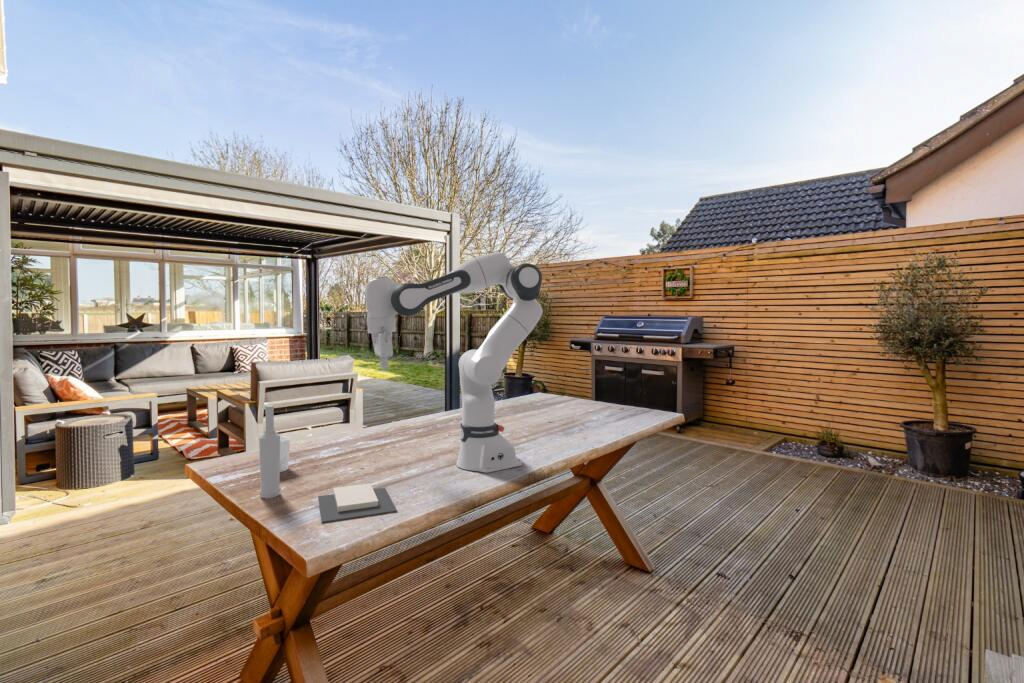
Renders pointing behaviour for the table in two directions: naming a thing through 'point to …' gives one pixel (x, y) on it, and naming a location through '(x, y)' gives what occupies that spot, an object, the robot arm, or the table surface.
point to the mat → (332, 514)
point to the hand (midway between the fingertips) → (384, 369)
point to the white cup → (284, 452)
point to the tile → (355, 497)
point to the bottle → (269, 457)
